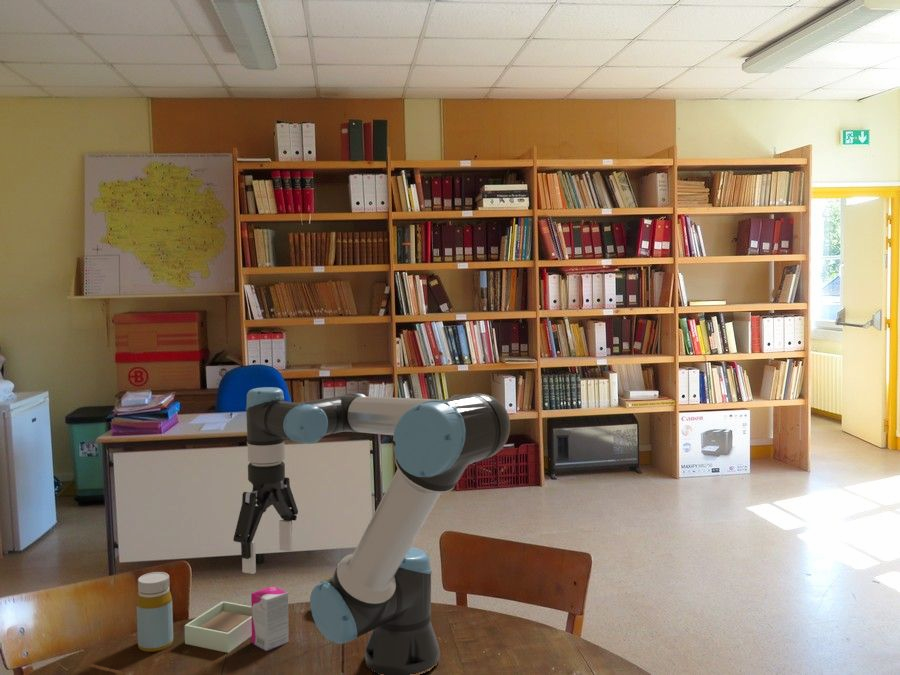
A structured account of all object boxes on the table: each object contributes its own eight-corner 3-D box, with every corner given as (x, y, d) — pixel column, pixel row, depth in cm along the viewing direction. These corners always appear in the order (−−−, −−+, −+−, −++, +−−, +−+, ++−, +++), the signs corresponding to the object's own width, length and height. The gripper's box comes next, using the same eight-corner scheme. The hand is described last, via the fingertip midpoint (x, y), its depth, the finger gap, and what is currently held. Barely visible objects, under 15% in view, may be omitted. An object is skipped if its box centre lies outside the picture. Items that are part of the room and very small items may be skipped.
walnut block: (250, 629, 173) (249, 616, 173) (227, 645, 166) (227, 631, 166) (223, 624, 176) (223, 611, 175) (200, 639, 168) (200, 626, 168)
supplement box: (289, 644, 168) (289, 592, 167) (266, 654, 163) (265, 600, 162) (274, 635, 171) (273, 584, 170) (250, 644, 167) (249, 592, 166)
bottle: (161, 655, 162) (159, 585, 161) (131, 652, 164) (128, 582, 163) (179, 640, 169) (177, 572, 168) (150, 637, 171) (148, 570, 169)
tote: (264, 628, 175) (264, 608, 174) (228, 654, 163) (227, 633, 162) (223, 620, 179) (222, 601, 178) (185, 645, 167) (184, 625, 166)
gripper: (283, 447, 177) (285, 539, 179) (213, 474, 154) (216, 580, 155) (312, 450, 174) (314, 543, 176) (245, 478, 151) (248, 585, 153)
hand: (268, 561), depth 166 cm, fingers open, 13 cm apart
